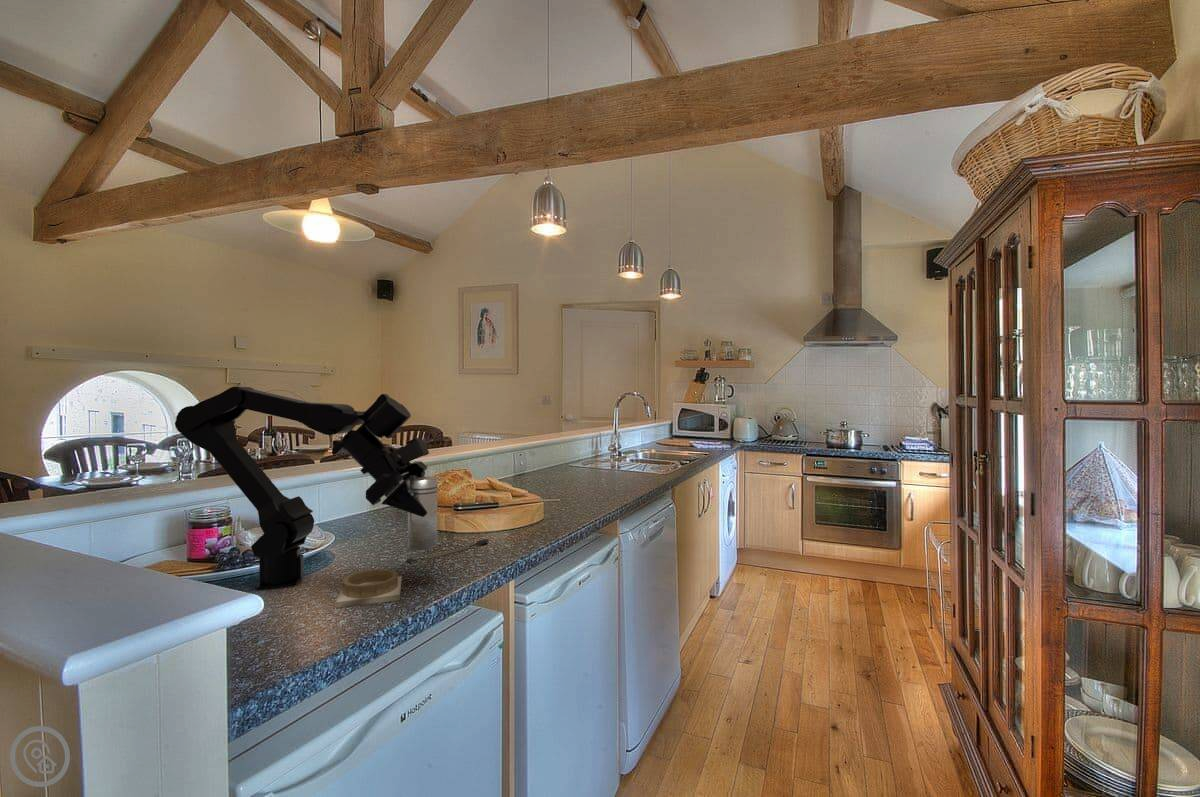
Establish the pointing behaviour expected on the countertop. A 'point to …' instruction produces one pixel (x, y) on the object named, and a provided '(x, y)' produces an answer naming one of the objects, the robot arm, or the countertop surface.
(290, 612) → the countertop surface
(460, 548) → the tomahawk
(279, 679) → the countertop surface
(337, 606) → the ring collar
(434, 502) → the salt shaker
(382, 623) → the countertop surface
